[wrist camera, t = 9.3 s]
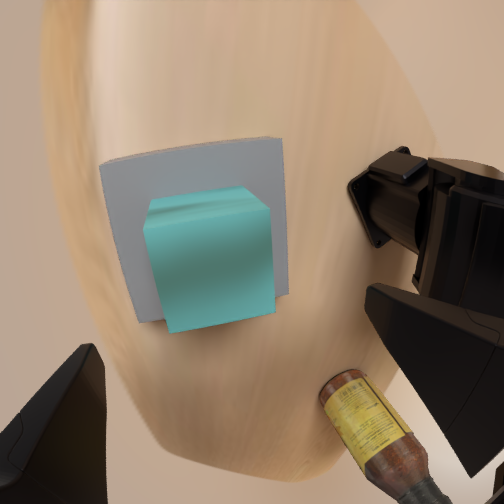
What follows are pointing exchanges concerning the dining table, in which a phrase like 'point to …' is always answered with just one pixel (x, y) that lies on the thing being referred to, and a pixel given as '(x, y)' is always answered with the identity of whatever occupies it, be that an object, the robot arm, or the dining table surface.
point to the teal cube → (211, 257)
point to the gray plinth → (182, 182)
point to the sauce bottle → (379, 439)
